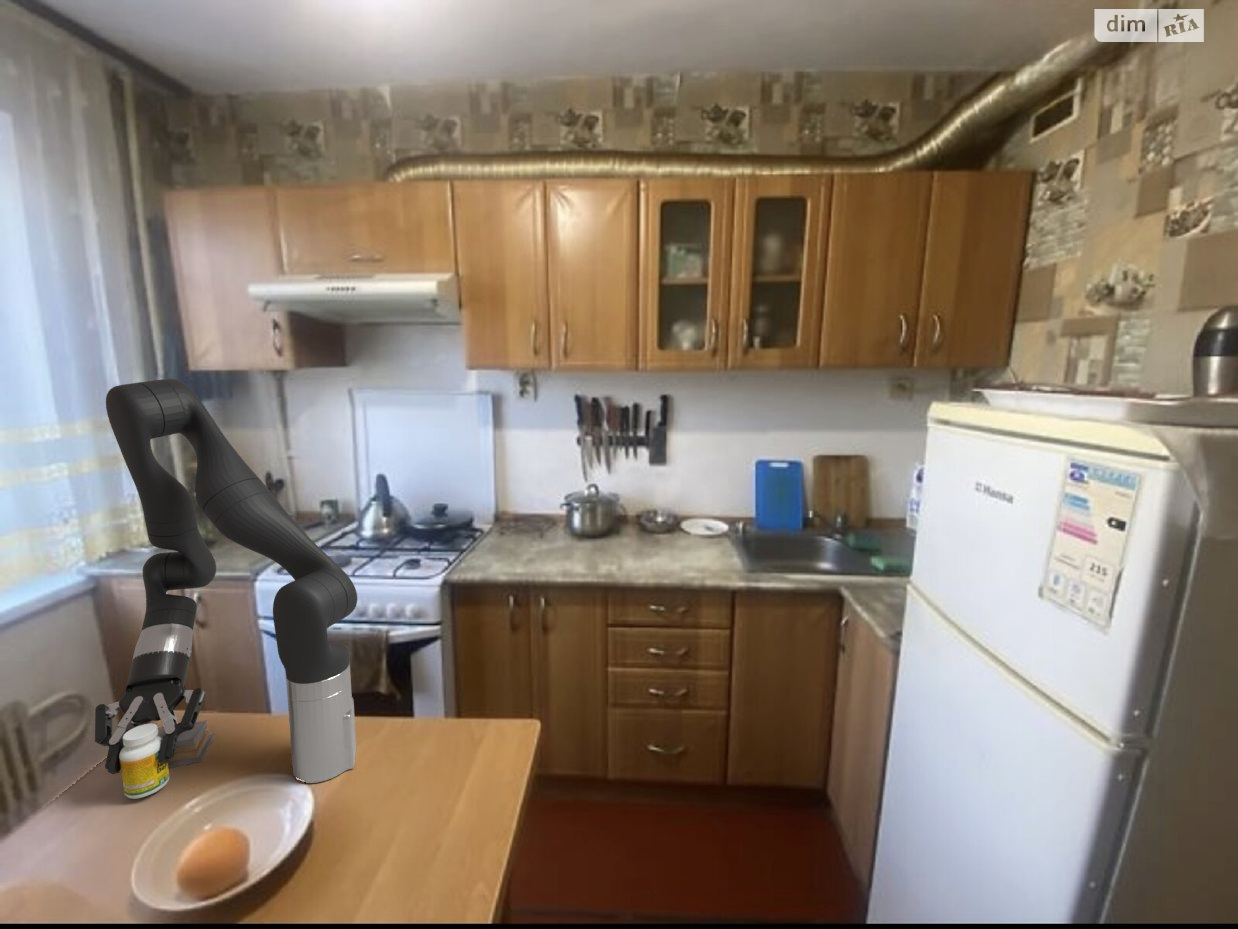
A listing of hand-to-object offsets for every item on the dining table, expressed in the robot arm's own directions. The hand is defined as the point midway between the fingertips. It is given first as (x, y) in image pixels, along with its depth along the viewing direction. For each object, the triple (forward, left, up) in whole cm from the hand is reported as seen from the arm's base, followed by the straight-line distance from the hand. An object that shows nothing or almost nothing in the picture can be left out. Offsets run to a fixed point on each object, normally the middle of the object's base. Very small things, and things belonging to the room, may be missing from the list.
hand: (139, 767), depth 81 cm
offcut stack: (-1, -11, -6) cm, 12 cm away
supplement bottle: (0, -2, -5) cm, 5 cm away
